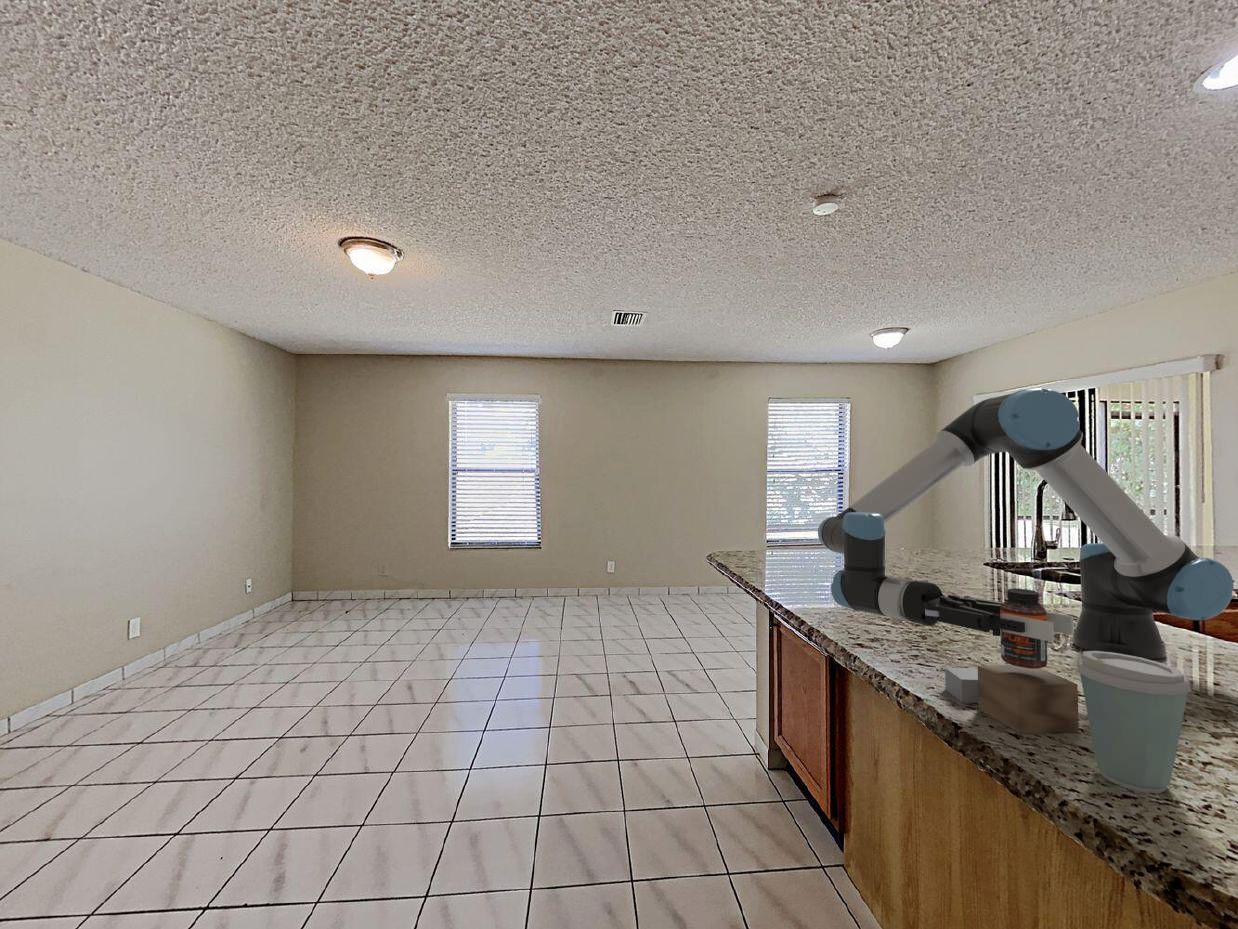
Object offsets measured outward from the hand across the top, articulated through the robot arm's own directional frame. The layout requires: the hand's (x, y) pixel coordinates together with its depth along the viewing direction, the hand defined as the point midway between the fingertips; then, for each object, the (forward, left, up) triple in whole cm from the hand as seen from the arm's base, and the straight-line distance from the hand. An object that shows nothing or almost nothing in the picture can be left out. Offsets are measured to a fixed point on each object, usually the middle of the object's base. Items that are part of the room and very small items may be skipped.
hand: (1062, 628), depth 84 cm
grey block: (+5, -14, -15) cm, 22 cm away
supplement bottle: (+3, -5, -7) cm, 8 cm away
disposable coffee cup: (+3, +14, -15) cm, 21 cm away
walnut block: (+3, -4, -15) cm, 16 cm away
